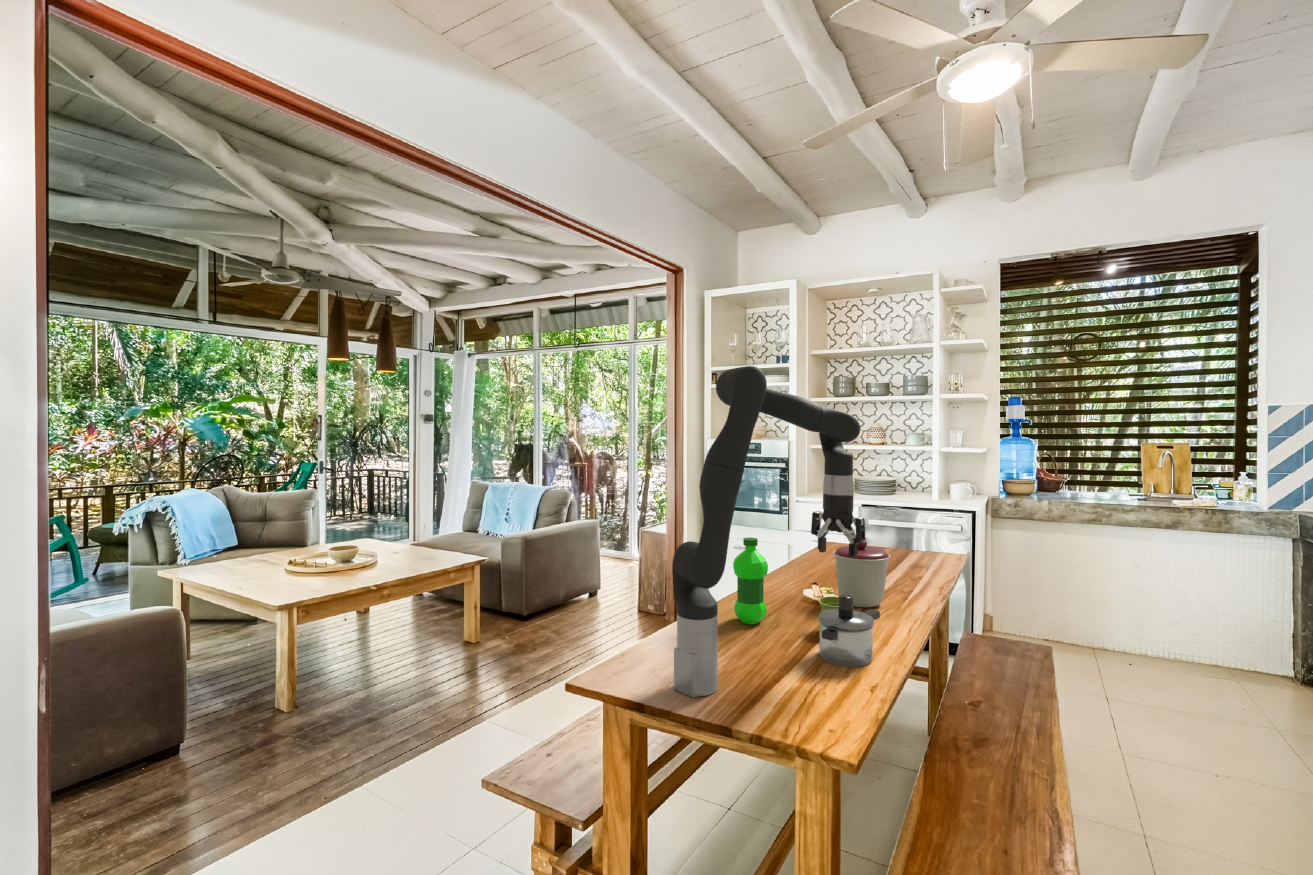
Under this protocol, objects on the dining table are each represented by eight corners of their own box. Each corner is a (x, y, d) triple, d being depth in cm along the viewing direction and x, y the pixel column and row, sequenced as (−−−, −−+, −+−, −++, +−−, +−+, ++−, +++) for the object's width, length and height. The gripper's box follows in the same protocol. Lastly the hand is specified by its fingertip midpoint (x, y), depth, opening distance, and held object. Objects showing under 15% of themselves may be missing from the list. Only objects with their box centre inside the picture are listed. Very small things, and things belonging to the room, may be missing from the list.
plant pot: (847, 638, 174) (847, 608, 174) (813, 632, 179) (813, 602, 179) (855, 628, 182) (856, 599, 182) (823, 623, 187) (823, 594, 187)
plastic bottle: (773, 620, 190) (774, 538, 189) (755, 629, 182) (755, 544, 181) (745, 613, 197) (745, 534, 195) (726, 622, 188) (726, 539, 187)
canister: (821, 602, 207) (821, 539, 206) (850, 591, 219) (851, 532, 219) (872, 615, 194) (872, 548, 193) (900, 603, 206) (901, 539, 205)
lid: (856, 635, 152) (857, 608, 152) (808, 621, 162) (808, 596, 161) (883, 621, 161) (883, 596, 161) (835, 609, 171) (836, 586, 171)
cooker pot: (850, 674, 151) (850, 637, 150) (803, 659, 160) (803, 624, 160) (897, 647, 168) (898, 614, 167) (853, 635, 177) (853, 603, 177)
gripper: (806, 490, 164) (805, 552, 164) (855, 496, 153) (854, 562, 154) (822, 488, 169) (821, 548, 169) (871, 493, 158) (870, 557, 159)
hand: (837, 554), depth 162 cm, fingers open, 8 cm apart
